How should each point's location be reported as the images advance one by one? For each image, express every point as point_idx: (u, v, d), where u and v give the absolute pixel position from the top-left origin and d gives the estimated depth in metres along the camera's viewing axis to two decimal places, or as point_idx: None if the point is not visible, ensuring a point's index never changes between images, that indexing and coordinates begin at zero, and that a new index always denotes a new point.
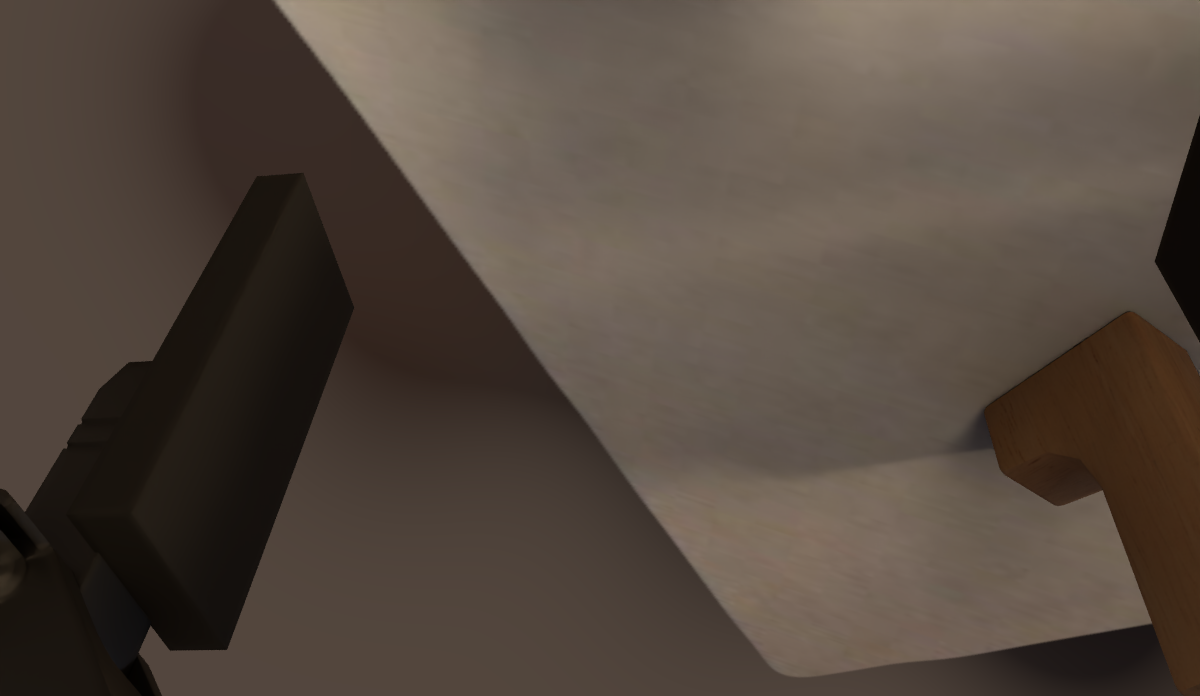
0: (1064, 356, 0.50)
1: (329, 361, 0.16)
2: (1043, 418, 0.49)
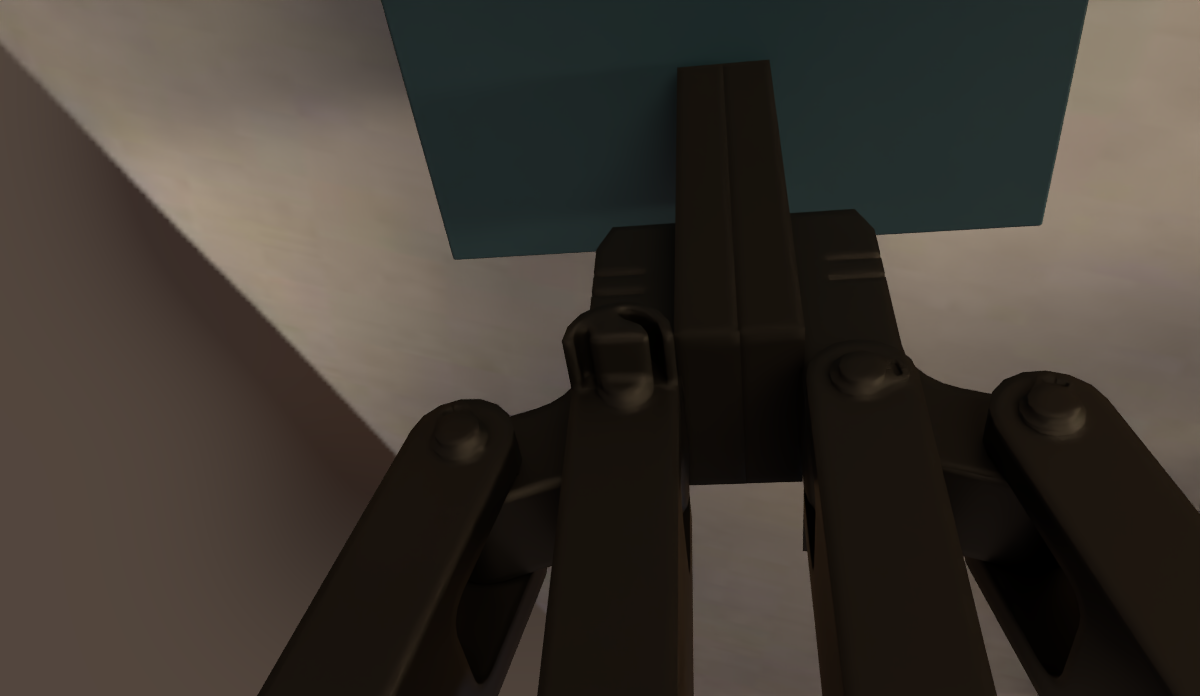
0: None
1: None
2: None
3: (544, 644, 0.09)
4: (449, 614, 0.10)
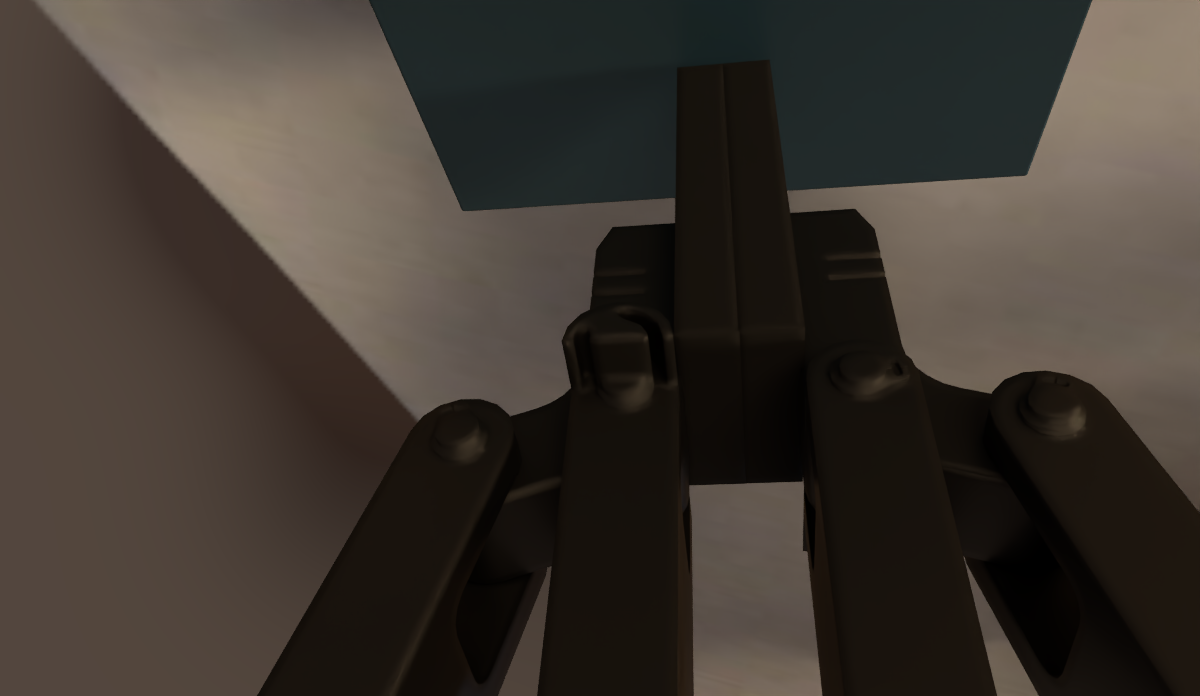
0: None
1: None
2: None
3: (544, 644, 0.09)
4: (449, 614, 0.10)
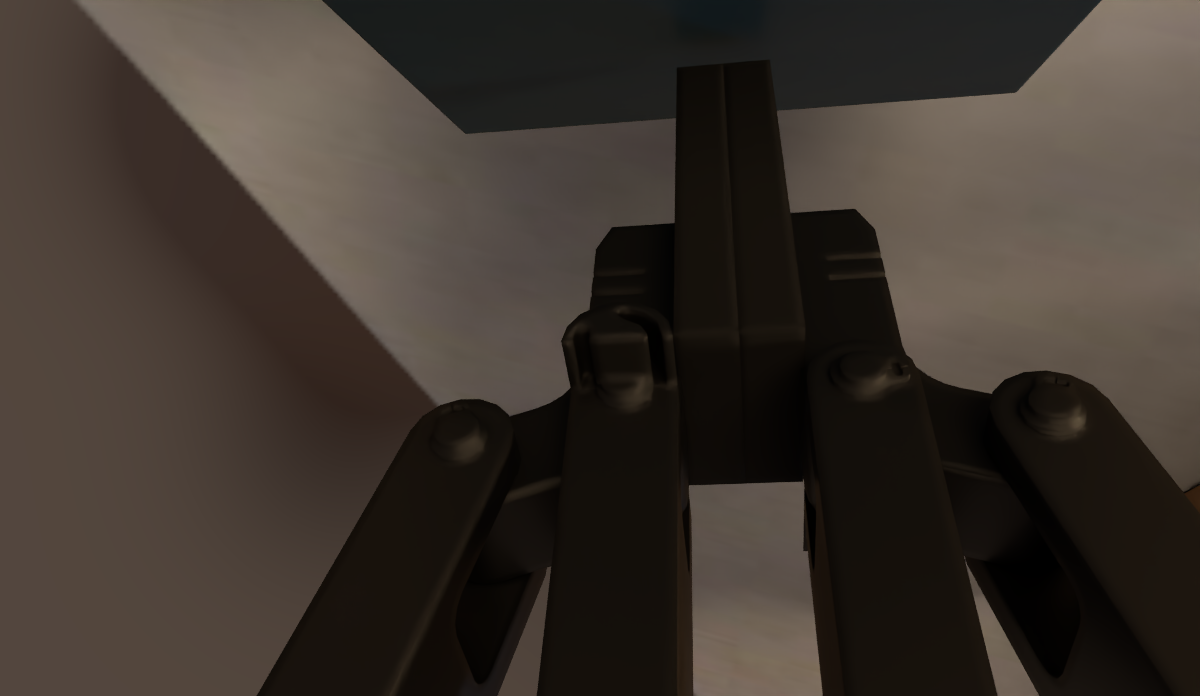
0: None
1: None
2: None
3: (544, 644, 0.09)
4: (449, 614, 0.10)
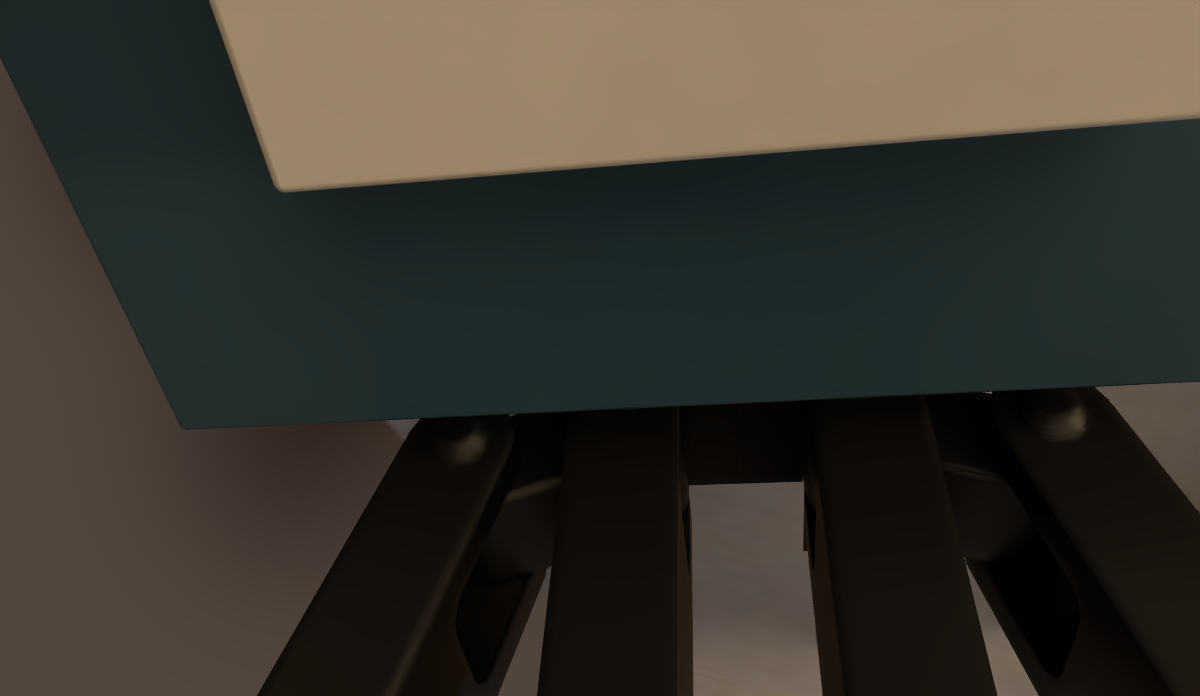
0: None
1: None
2: None
3: (543, 644, 0.09)
4: (449, 614, 0.10)
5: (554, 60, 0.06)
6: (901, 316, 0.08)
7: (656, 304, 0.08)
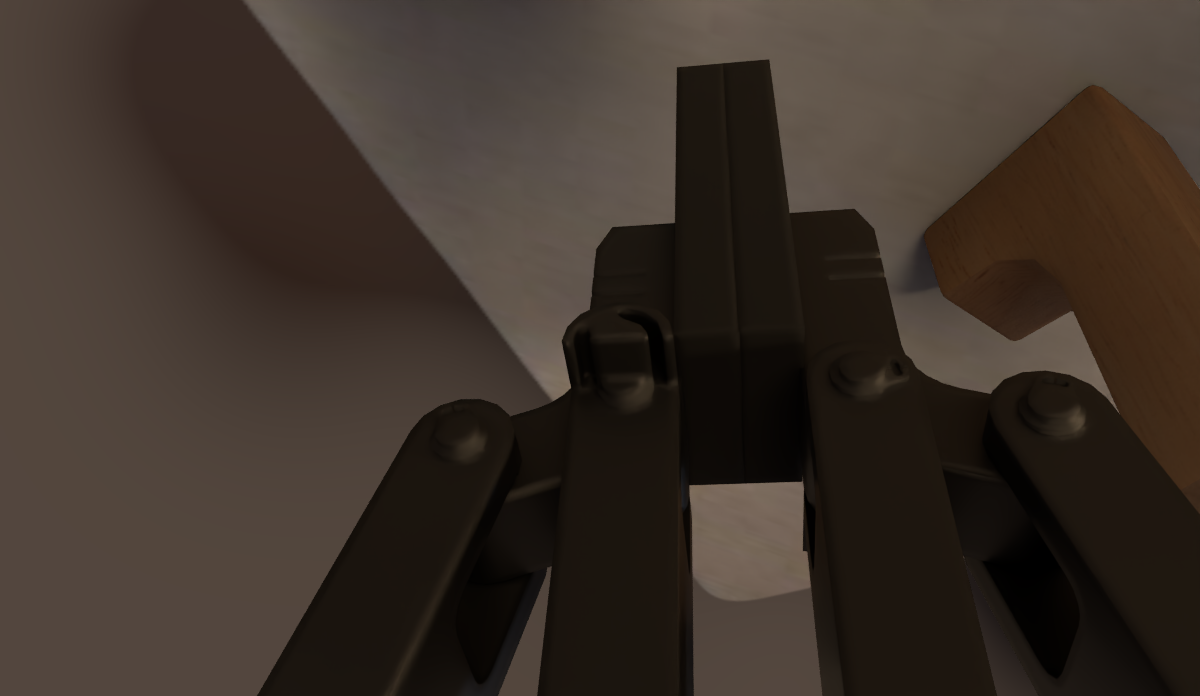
0: (1015, 152, 0.41)
1: None
2: (991, 224, 0.40)
3: (544, 644, 0.09)
4: (449, 613, 0.10)
5: None
6: None
7: None
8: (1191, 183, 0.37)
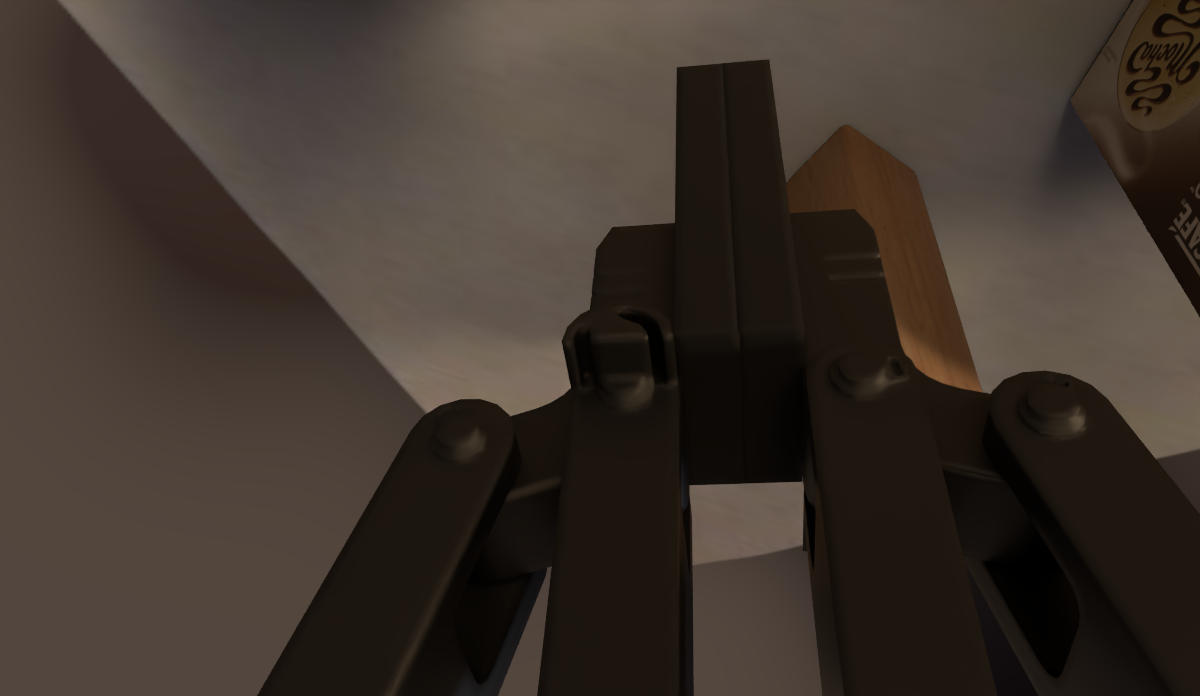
0: (787, 182, 0.46)
1: None
2: None
3: (544, 644, 0.09)
4: (449, 613, 0.10)
5: None
6: None
7: None
8: (919, 213, 0.42)
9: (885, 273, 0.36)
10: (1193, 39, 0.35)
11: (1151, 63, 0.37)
